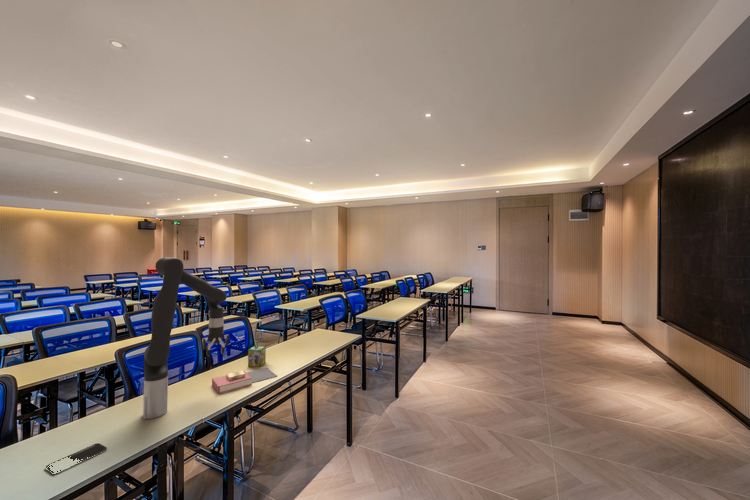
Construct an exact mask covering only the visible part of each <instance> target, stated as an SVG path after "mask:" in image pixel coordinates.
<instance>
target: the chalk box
mask: <svg viewBox="0 0 750 500" xmlns="http://www.w3.org/2000/svg"><path fill="white" fill-rule="evenodd" d="M258 344H259V343H258V342H256V343H254V345H253V346H252V347H250V348H249V349H248V350H247V352H248V353H247V354H248V355H247V367H250V368H251V367H256V368H257V367H261V368H262V366H263V365H264V364H265V363H266V358H267V357H266V355H267V353H266V349H267V347H266V346H263V345H262V346H261V345H258Z"/></svg>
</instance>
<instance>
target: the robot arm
mask: <svg viewBox="0 0 750 500" xmlns="http://www.w3.org/2000/svg"><path fill="white" fill-rule="evenodd" d="M154 267H155V270H156V271H157V273H158V274H160V275H162V276H163V281H162V284H161V285H162V286H161V288H160V290H159V292H158V294H157V295H156V298H155V299H154V301H153V304H152V309H151V310H152V311H151V316H150V317H151V318H150V319H151V322H150V323H151V325H150V326H151V337H150V342H149V345H148V346H147V347H146V349H145V350H144V354H143V376H144V377H143V398H142V400H143V402H142V418H143V420H147V419H148V420H151V419H155V418H159V417H162V416H163V415H165V414H166V413H168V400H169V399H168V398H169V397H168V396H169V394H168V393H169V391H168V389H169V388H168V387H169V386H168V385H169V368H168V359H169V357H170V349H171V348H170V347H171V345H170V344H171V343H170V342H171V333H172V329H173V325H174V320H175V314H176V310H177V309H176V308H177V301H178V294H179V288H180V283H181V284H183V285H185V286H186V287H188V288H189V289H191V290H192V291H194V292H196V293H198V294H199V295H201V296H203V297H206V300H207V302H206V303H207V305H208V306H207V307H208V311H209V317H208V318H209V319H208V336H207V337H202V339H201V341H202V342H201V343H202V349H203V351H204V350H206V356H207V357H211V348H212V347H213V345H216V344H219V345H220V346H221V347H220V354H221V355H224V353H225V349H226V347H227V346H229V341H230V335H229V334H224V327H225V326H224V325H225V323H224V321H225V320H224V307H223V306H221V305H220V304H222V303H224V302H225V301H226V300H227V293H226V292H225V291H223V290H222V289H221V288H218V287H217V286H214V285H212V284H211V283H209V282H207V281H206V280H204V279H203V278H201V277H198V276H197V275H195V274H192V273H191V272H189V271H187V270H185V269H184V263H183V261H182V260H181V259H180V258H178V257H170V256H169V257H168V256H165V257H161V258H160V259H158V260H157V261H156V262H155V265H154ZM223 339H224V340H225V341H224V342H223ZM207 341H208V344H207Z"/></svg>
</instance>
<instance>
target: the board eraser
mask: <svg viewBox="0 0 750 500" xmlns="http://www.w3.org/2000/svg"><path fill="white" fill-rule="evenodd" d="M243 371H244V370H239V371H234V372H231V373H226V374H225V375H226V378H227V379H228V381H231V380H235V379H239V378H243V377H245V373H244V372H243Z"/></svg>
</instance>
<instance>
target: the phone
mask: <svg viewBox="0 0 750 500" xmlns="http://www.w3.org/2000/svg"><path fill="white" fill-rule="evenodd" d="M106 449H107V446H105V445H104V444H101V443H94V444H92V445H89V446H87V447H85V448H83V449H80V450H79V451H76V452H74V453H71V454H70V455H69V454H68V455H67V456H65V457H63V458H61V459H64V458H66V457H68V458H69V457H70V456H71V457H70V459H73V461H74V460H75V459H76V458H77V460H78V459H79V460H80V461H83V460H85V459H87V457H88V458H89V457H92V456H94V455H97V454H99V455H101V454H102V453H101V452H103V451H105V450H106ZM107 450H108V449H107ZM107 450H106V451H107ZM106 451H105V452H106ZM100 453H101V454H100ZM103 453H104V452H103ZM97 456H98V455H97ZM94 457H95V456H94ZM92 458H93V457H92ZM61 459H58V460H57V461H59V460H61ZM81 459H83V460H81ZM80 461H79V462H80ZM55 462H56V461H53V462H51V463H49V464H47V465H45V467H46V468H47V467H48V466H49V465H50V464H52V463H55ZM77 463H78V462H77ZM51 466H52V465H51ZM49 467H50V466H49ZM49 467H48V468H47V469H48V470H49V471H51V470H50V468H49ZM52 467H53V466H52ZM60 471H61V470H60ZM51 472H52V473H54V472H53V471H51ZM57 472H58V471H57Z"/></svg>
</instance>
